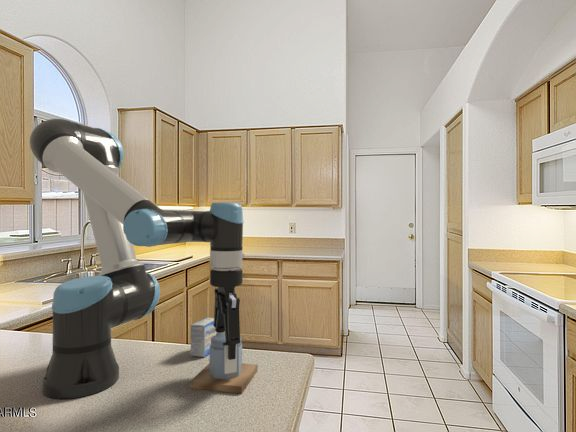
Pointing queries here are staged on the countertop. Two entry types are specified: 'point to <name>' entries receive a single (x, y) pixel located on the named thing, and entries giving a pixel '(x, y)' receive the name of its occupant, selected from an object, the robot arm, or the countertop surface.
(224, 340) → the cap
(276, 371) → the countertop surface
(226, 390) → the brown wooden square board
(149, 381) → the countertop surface
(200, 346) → the medicine box
